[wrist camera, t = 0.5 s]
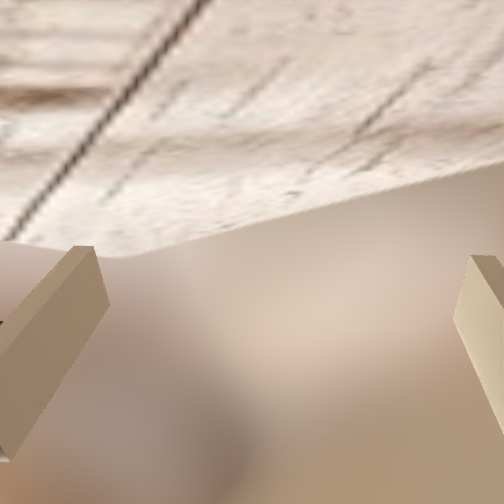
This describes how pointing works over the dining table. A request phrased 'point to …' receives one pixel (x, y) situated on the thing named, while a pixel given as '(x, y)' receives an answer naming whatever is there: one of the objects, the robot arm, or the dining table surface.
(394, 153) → the dining table surface
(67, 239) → the dining table surface
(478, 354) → the robot arm
